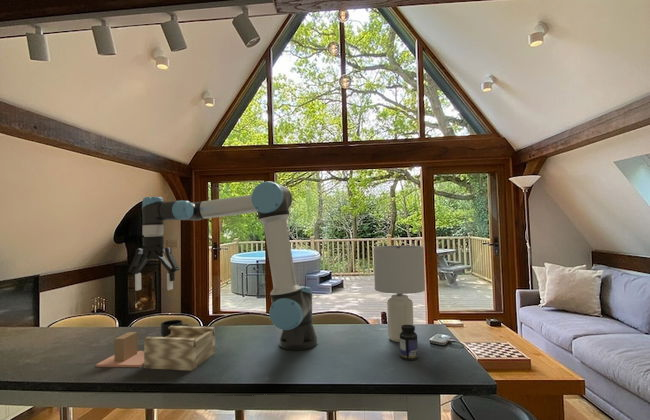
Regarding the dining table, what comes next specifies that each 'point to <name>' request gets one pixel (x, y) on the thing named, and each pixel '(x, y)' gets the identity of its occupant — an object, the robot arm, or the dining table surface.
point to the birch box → (180, 348)
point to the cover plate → (124, 364)
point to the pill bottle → (408, 343)
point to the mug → (166, 324)
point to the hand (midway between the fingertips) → (154, 290)
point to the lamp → (399, 282)
